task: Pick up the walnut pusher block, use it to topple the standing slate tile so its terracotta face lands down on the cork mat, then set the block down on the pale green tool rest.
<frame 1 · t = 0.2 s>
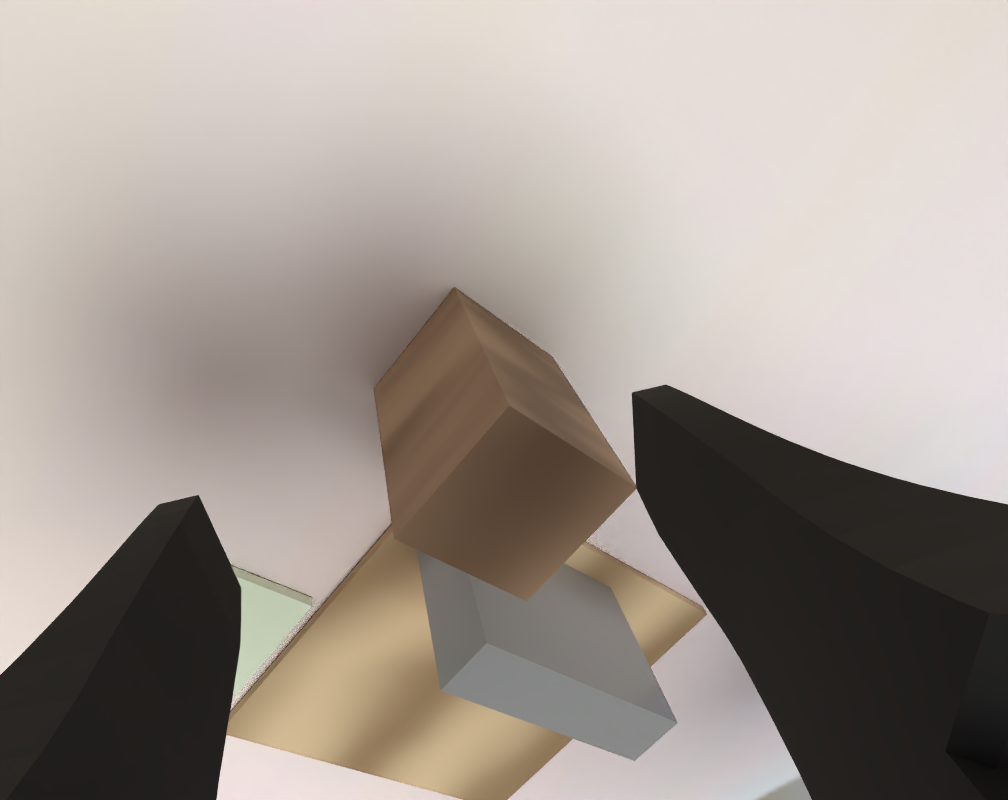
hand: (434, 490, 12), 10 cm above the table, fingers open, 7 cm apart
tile: (519, 567, 26), resting on mat
mat: (474, 662, 28), on the table
pusher block: (464, 372, 22), on the table
tool rest: (208, 620, 24), on the table
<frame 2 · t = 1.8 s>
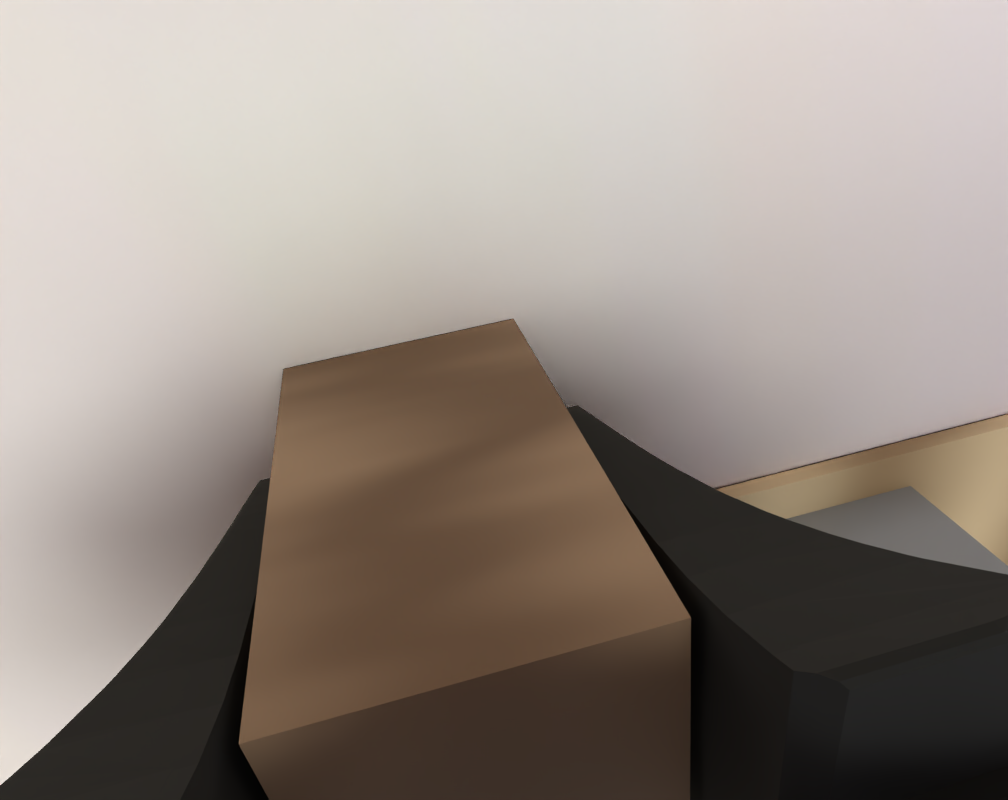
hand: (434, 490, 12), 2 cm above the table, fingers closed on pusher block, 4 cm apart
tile: (746, 561, 16), resting on mat
mat: (798, 666, 19), on the table
pusher block: (423, 439, 13), on the table, touching gripper
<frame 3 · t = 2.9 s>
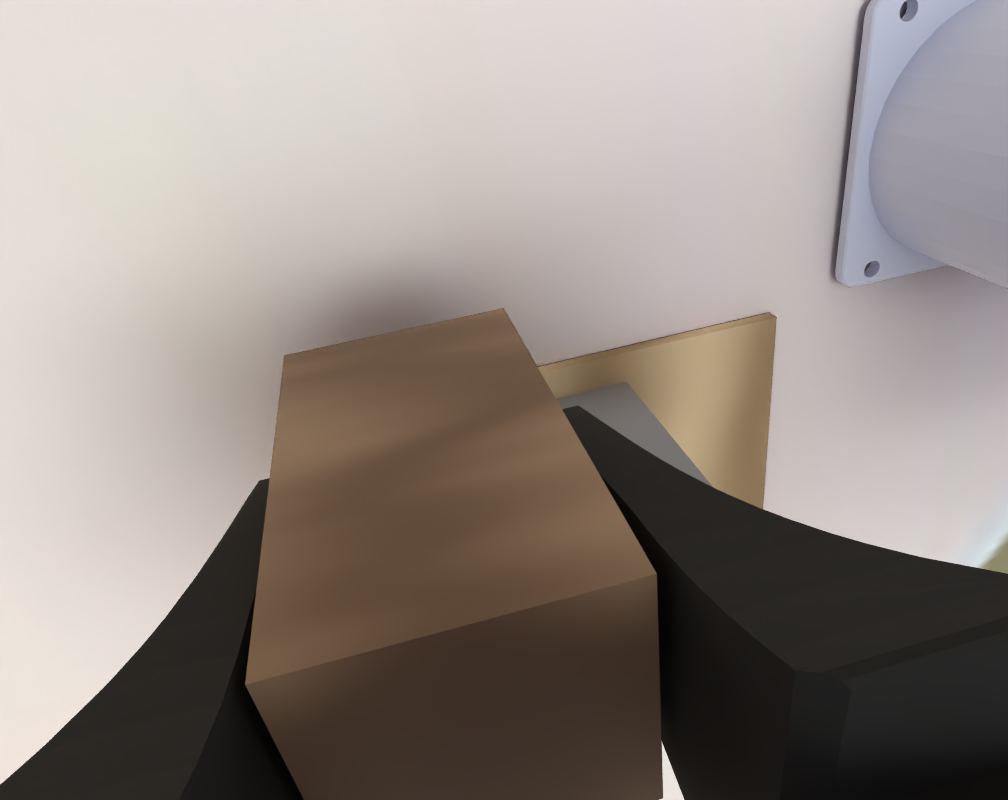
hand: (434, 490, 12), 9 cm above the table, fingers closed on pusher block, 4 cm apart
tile: (506, 438, 22), resting on mat
mat: (576, 535, 25), on the table
pusher block: (417, 423, 14), point 6 cm above the table, touching gripper
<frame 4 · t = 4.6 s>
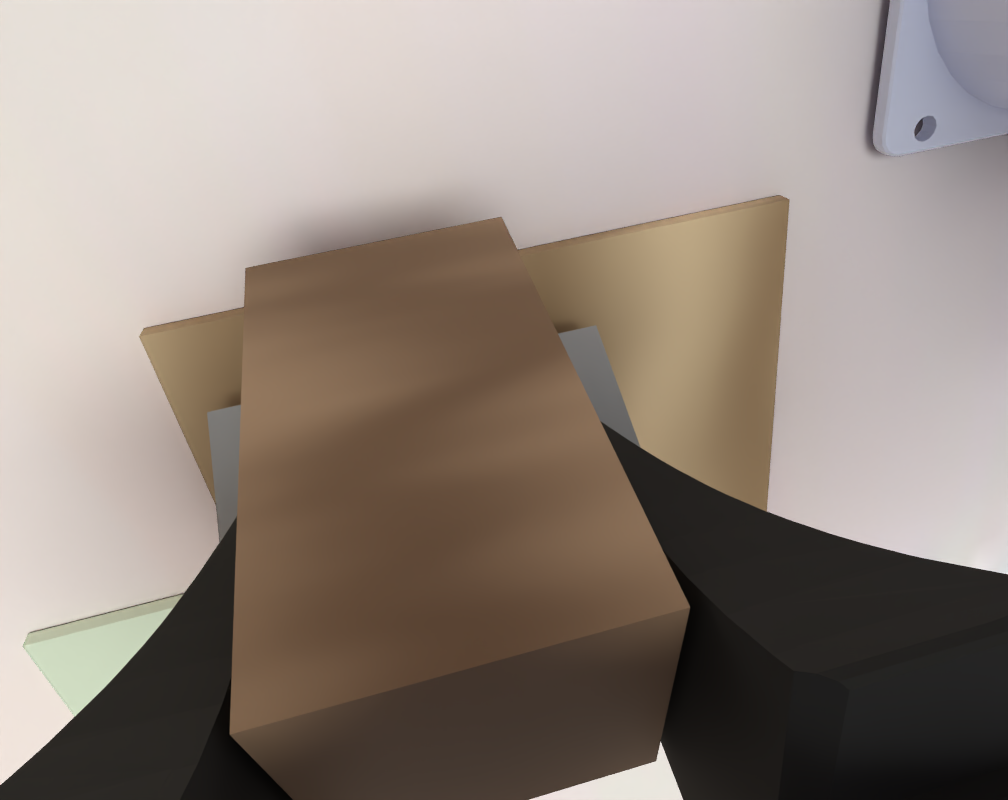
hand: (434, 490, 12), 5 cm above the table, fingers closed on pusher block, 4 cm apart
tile: (413, 388, 15), point 1 cm above the table, tilted 35°, touching mat
mat: (519, 508, 19), on the table
pusher block: (399, 340, 12), point 3 cm above the table, tilted 14°, touching gripper
tool rest: (171, 671, 19), on the table
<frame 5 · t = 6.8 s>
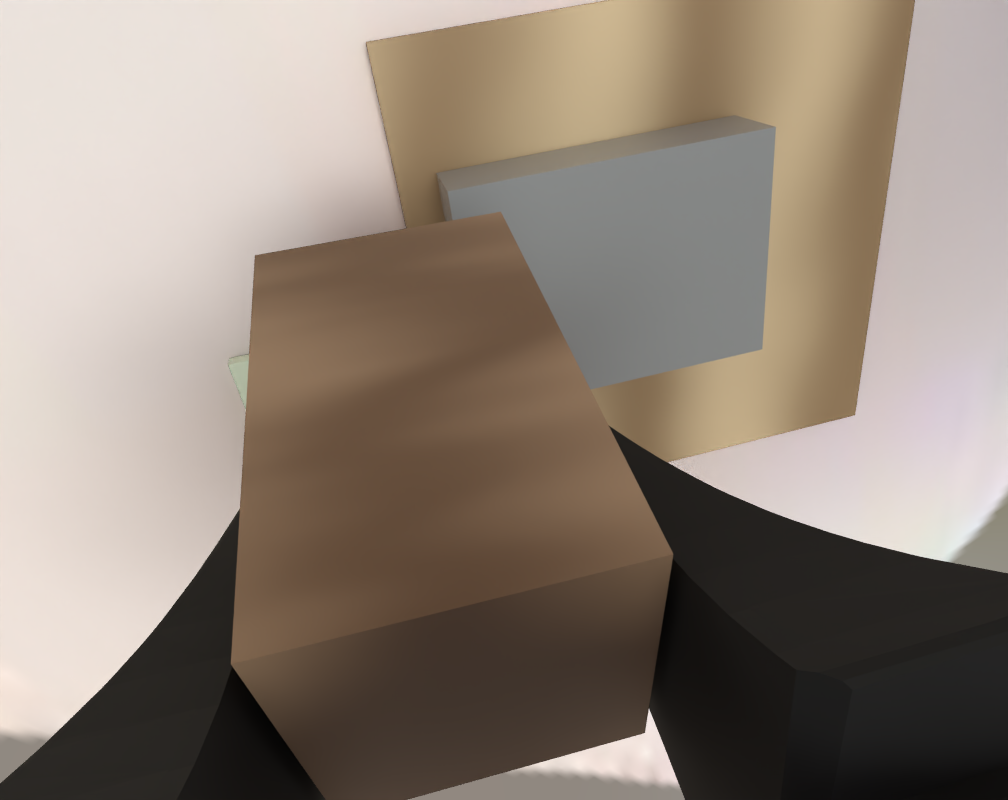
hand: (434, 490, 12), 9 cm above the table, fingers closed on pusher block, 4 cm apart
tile: (602, 150, 17), point 2 cm above the table, tilted 90°, touching mat
mat: (658, 264, 21), on the table
pusher block: (401, 332, 13), point 7 cm above the table, tilted 12°, touching gripper
tool rest: (343, 413, 21), on the table
when the fingers open (3 cm above the table, at t = 8.6 s): pusher block moves 2 cm and tips over, point 2 cm above the table.
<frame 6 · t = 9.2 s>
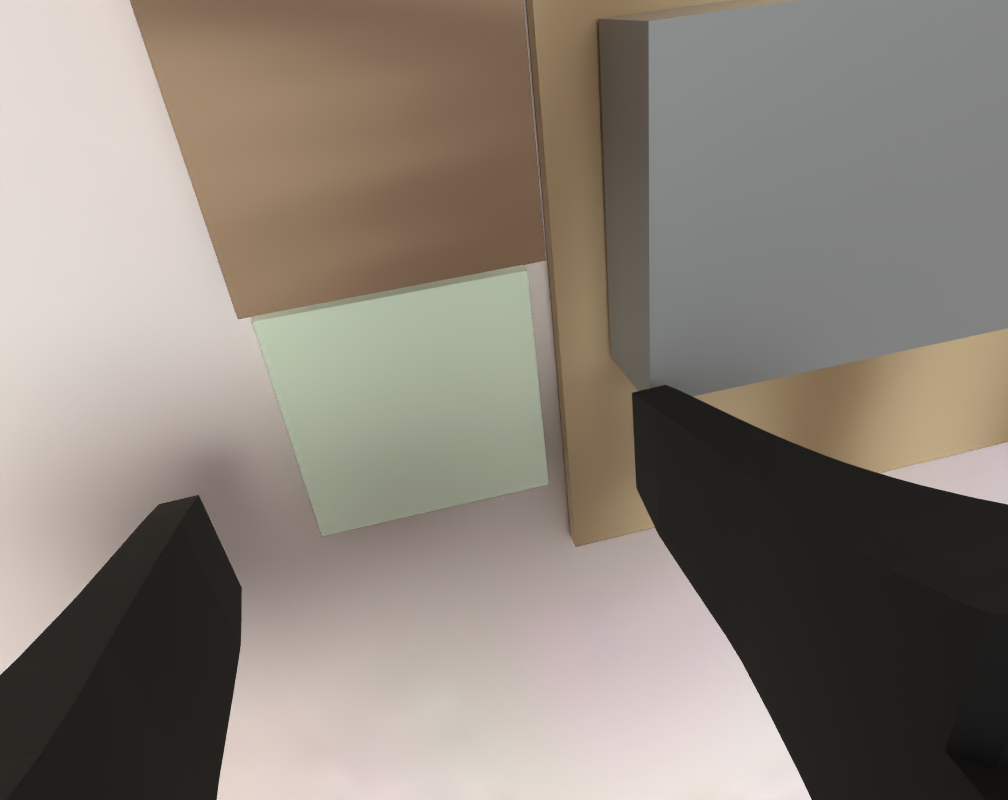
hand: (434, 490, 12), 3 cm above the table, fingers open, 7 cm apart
mat: (878, 197, 14), on the table
pusher block: (384, 243, 11), point 2 cm above the table, tilted 90°
tool rest: (415, 402, 14), on the table
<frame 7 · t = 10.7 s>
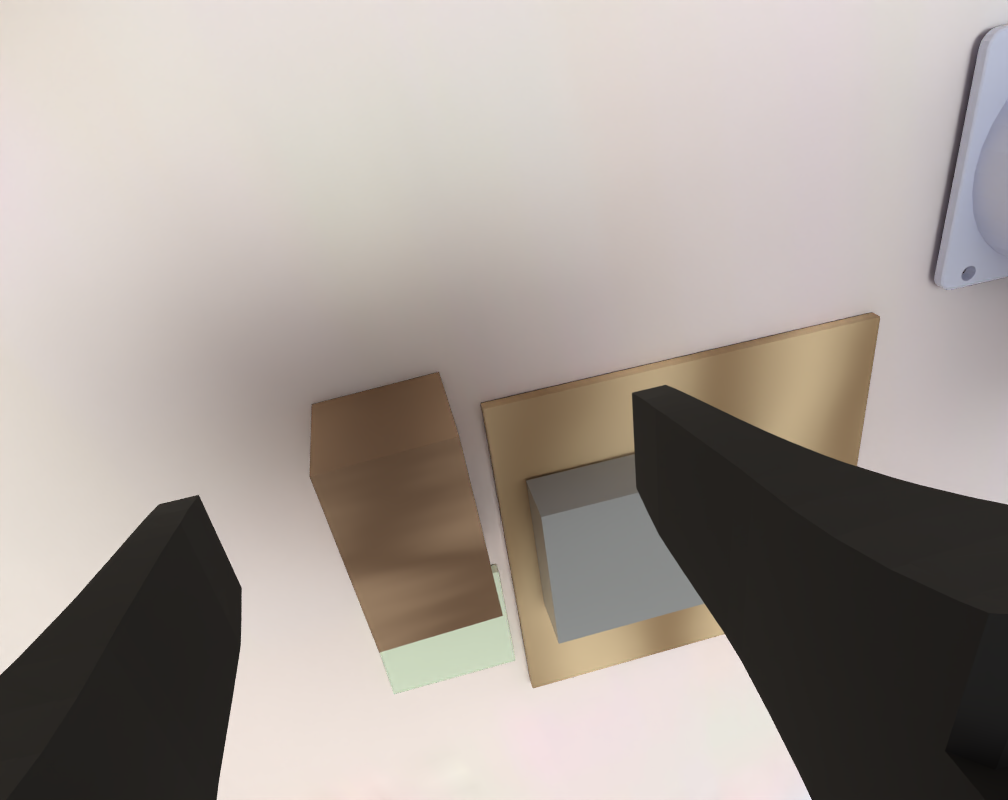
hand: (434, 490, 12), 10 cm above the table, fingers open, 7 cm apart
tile: (648, 469, 23), point 2 cm above the table, tilted 90°, touching mat
mat: (683, 515, 27), on the table
pusher block: (433, 588, 24), point 2 cm above the table, tilted 90°
tool rest: (442, 627, 27), on the table
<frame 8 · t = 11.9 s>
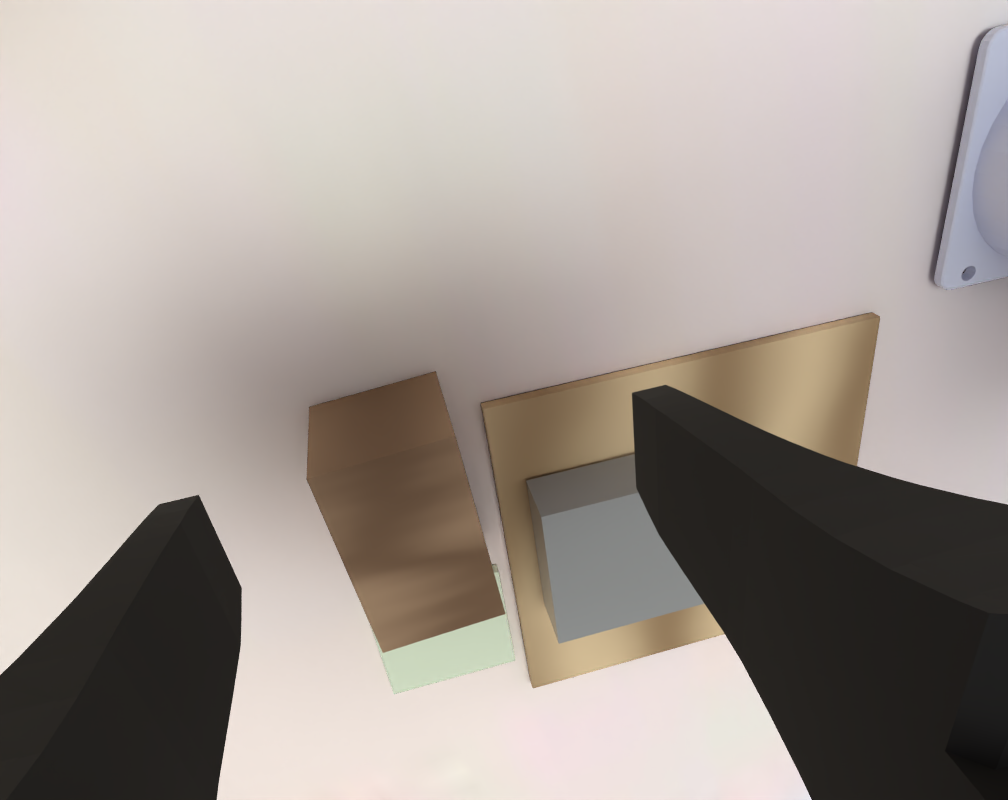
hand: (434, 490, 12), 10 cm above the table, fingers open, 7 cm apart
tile: (648, 469, 23), point 2 cm above the table, tilted 90°, touching mat
mat: (683, 515, 27), on the table
pusher block: (436, 588, 24), point 2 cm above the table, tilted 90°
tool rest: (442, 627, 27), on the table
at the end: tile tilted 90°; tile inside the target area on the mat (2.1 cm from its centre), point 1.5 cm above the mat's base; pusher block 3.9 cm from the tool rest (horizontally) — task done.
